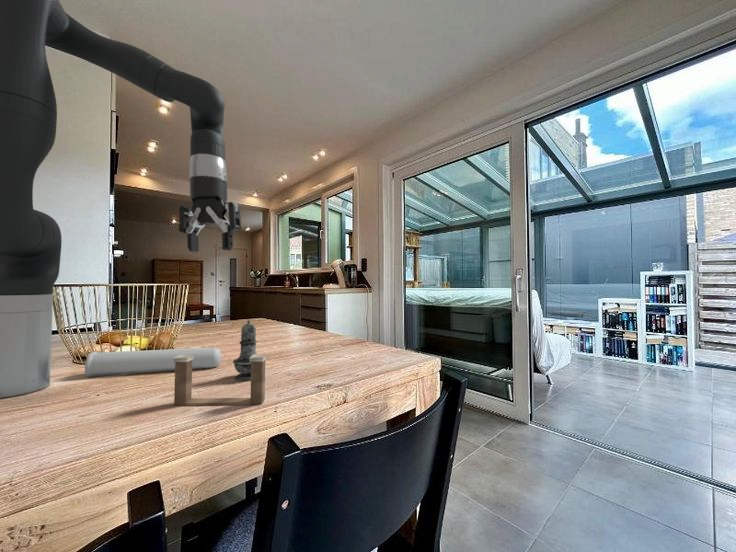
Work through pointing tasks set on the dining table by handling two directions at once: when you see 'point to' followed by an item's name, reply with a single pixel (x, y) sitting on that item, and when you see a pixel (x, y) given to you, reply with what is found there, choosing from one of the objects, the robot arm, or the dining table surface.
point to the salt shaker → (246, 352)
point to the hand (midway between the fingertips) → (210, 251)
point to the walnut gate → (185, 390)
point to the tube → (147, 361)
